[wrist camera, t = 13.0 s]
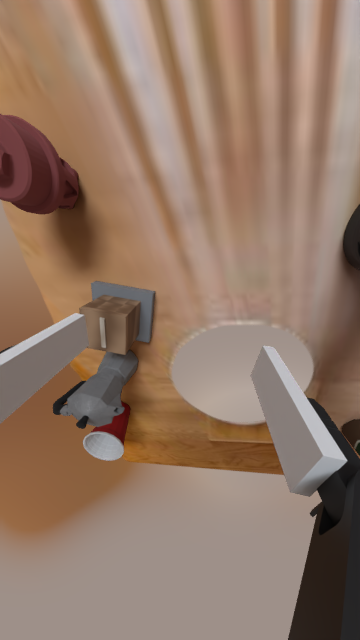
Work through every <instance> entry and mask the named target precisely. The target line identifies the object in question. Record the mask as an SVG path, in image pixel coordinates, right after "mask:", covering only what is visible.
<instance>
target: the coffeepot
mask: <svg viewBox="0 0 360 640" xmlns="http://www.w3.org/2000/svg"><path fill="white" fill-rule="evenodd" d="M137 365H138V359H137V357H136V356H135V354H134V353H133V352H131V351H130V350H128V352H127V353H126V355H123V354H118V353H113V352H106V354H105V356H104V358H103V360H102V362H101V364H100V366H99V368H98V371H97V374H95V375H93V376H92V377H90V378H89V379H88V380H87V381H81V382H80V383H79V384H77V385H76V386H74V387H73V388H72V389H71V390H70V391H68V392H67V393H66V394H65V395H63V396H62V397H61V398H59V399H58V400H57V401H56V402H55V403H54V404H53V413H54V414H56V415H60V414H62V415H64V416H66V415H67V416H68V415H69V416H70V415H71V414H72V415H73V416H74V417H75V418H76V419H78V420H79V421H78V422H77V424H76V425H77V427H79V428H82V429H83V428H85V427H86V424H89V425H93V426H96V427H100V426H103V425H106V424H109V423H112V420H113V417H114V416H117V415H119V414H122V413H123V411H124V409H125V408H124V407H123V406H122V404H121V398H120V396H121V392H122V387H123V386H124V385H125V384H126V383H127V382H128V380H129V379H130V378H131V377H132V375H133V374H134V373H135V371H136V369H137ZM66 401H67V402H68V404H64V403H66ZM63 404H64V405H63Z"/></svg>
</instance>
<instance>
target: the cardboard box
mask: <svg viewBox="0 0 360 640" xmlns="http://www.w3.org/2000/svg"><path fill="white" fill-rule="evenodd" d="M140 304H141V301H137V300H131V299H126V298H120V297H114V296H109V295H102V296H100V297H98V298H97V299H95V300H93V301H91V302H90V303H88V304H86V305H84V306H83V307H81V308H79V310H80V314H82V315H85V321H86V328H87V335H88V341H89V346H88V347H86V348H91V349H97V350H102V351H107V352H113V353H118V354H123V355H126V353H127V352H128V350H129V349H130V347H131V345H132V344H133V342H134V341H135V339H136V338H137V336H138V334H139V324H140Z"/></svg>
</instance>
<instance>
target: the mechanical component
mask: <svg viewBox="0 0 360 640" xmlns="http://www.w3.org/2000/svg"><path fill="white" fill-rule="evenodd" d="M77 179H78V174H77V172H76V171H75V170H74V169H72V168H71V167H70V166H69V164H68V163H67V162H65V161H64V160H63V159H61V158H60V157H59V156H58V154H57V152H56V150H55V148H54V147H53V145H52V144H51V142H50V141H49V140H48V139H47V138H46V136H45V135H44V134H42V133H41V132H40V131H39V130H38V129H36V128H35V127H34V126H32V125H31V124H29V123H28V122H26V121H25V120H23V119H21V118H19V117H16V116H12V115H1V114H0V199H1V200H4V201H8V202H11V203H12V204H13V205H15V206H16V207H18V208H20V209H21V210H24V211H26V212H30V213H36V214H48V213H51V212H53V211H55V210H56V209H57V208H69V209H72V208H73V207H74V204H75V202H76V200H77V198H78V193H79V187H78V181H77Z"/></svg>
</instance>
